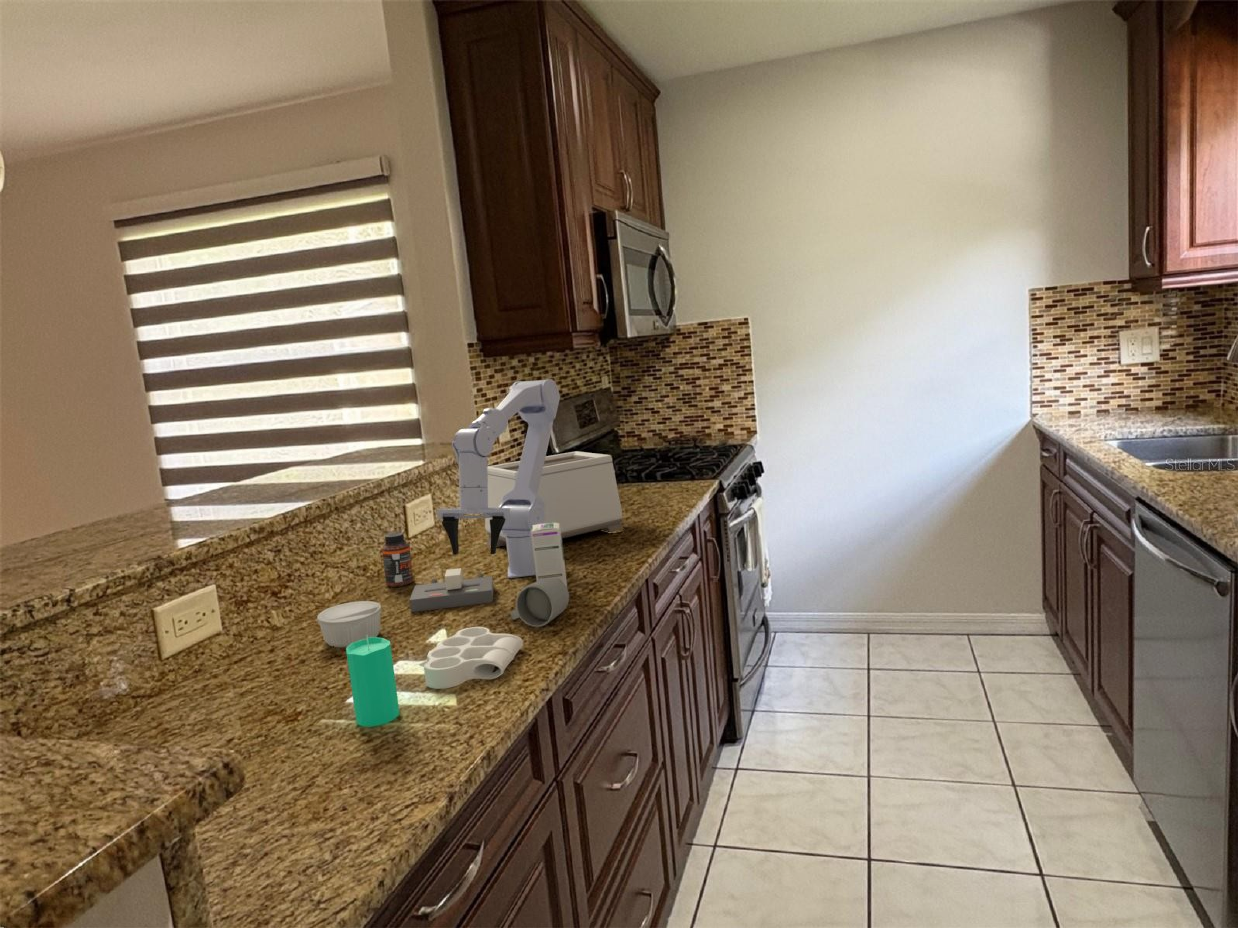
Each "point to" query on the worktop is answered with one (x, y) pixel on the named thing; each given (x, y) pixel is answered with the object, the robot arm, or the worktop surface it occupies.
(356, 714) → the candle
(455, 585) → the breaker knob
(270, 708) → the worktop surface
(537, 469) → the robot arm
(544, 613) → the ceramic mug
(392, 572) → the supplement bottle
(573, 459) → the toaster
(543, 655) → the worktop surface
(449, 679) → the white multi-cup tray
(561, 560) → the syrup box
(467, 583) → the panel
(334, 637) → the ramekin
